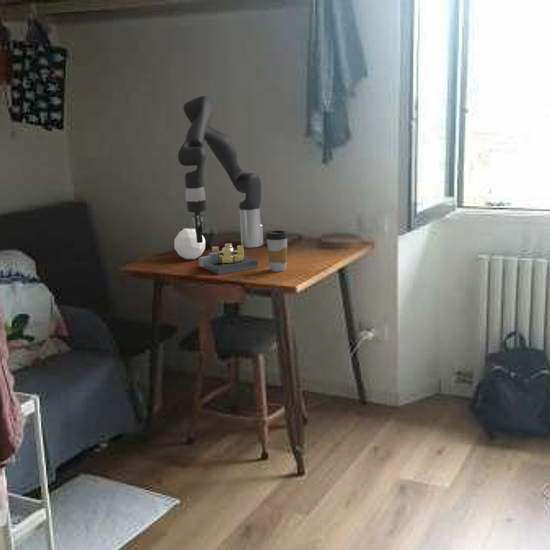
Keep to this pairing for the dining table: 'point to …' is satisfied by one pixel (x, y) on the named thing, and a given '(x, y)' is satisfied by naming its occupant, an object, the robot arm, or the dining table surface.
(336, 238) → the dining table surface
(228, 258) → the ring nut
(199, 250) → the geodesic sphere
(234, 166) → the robot arm
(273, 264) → the coffee cup
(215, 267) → the housing
